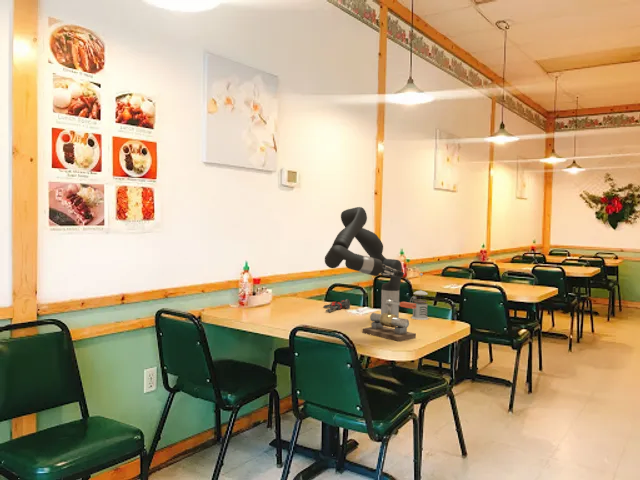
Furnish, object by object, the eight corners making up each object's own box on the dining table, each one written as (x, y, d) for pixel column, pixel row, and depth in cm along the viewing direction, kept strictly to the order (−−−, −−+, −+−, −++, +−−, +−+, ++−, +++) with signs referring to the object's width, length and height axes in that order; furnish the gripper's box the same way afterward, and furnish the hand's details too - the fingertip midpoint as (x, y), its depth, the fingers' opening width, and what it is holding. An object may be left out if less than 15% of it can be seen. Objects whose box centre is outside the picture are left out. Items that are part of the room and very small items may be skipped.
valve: (331, 308, 322) (353, 307, 315) (313, 317, 298) (336, 315, 292) (329, 298, 322) (352, 297, 315) (311, 306, 298) (335, 304, 292)
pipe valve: (410, 334, 233) (410, 307, 233) (401, 335, 229) (402, 308, 229) (376, 326, 248) (377, 301, 248) (368, 328, 244) (369, 302, 244)
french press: (432, 319, 284) (434, 273, 283) (416, 320, 278) (418, 274, 277) (420, 316, 292) (421, 272, 291) (404, 317, 286) (406, 272, 285)
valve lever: (389, 303, 241) (389, 299, 241) (416, 308, 229) (416, 303, 229) (384, 304, 238) (384, 299, 238) (411, 308, 227) (412, 304, 227)
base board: (415, 337, 235) (415, 333, 235) (399, 341, 227) (399, 336, 227) (379, 329, 251) (379, 325, 251) (362, 332, 243) (362, 328, 243)
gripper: (377, 261, 217) (412, 270, 223) (365, 254, 229) (398, 263, 235) (372, 277, 218) (406, 286, 224) (360, 269, 230) (393, 278, 236)
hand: (402, 274), depth 230 cm, fingers closed
